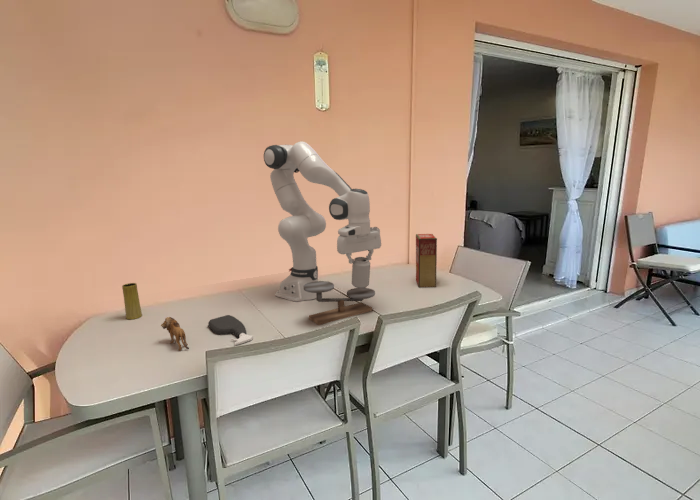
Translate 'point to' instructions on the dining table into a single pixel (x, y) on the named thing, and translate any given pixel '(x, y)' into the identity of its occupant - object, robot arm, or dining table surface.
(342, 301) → the scale
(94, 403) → the dining table surface
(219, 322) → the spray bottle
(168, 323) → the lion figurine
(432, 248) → the food packaging
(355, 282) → the can
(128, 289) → the vase
